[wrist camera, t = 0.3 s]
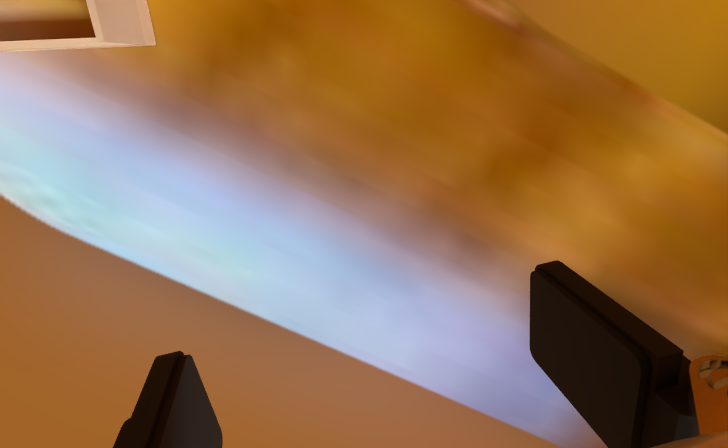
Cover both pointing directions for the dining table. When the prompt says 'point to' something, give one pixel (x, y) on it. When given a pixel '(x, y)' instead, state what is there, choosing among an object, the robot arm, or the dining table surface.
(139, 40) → the carton
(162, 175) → the dining table surface
